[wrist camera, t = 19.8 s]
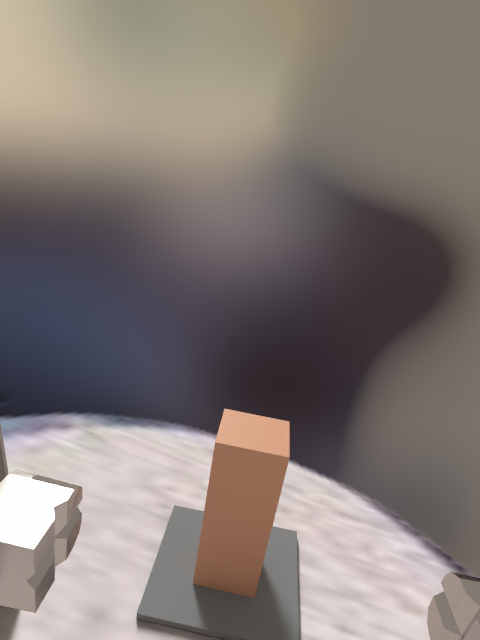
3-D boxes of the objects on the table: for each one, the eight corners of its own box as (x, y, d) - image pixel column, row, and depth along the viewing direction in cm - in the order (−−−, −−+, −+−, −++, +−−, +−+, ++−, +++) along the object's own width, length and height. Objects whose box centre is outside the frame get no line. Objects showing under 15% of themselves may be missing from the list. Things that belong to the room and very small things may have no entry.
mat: (136, 618, 28) (136, 613, 28) (173, 509, 38) (174, 505, 38) (297, 656, 28) (299, 651, 28) (295, 536, 37) (296, 531, 37)
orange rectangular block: (192, 583, 31) (215, 442, 26) (203, 540, 35) (224, 408, 30) (254, 597, 31) (289, 457, 26) (258, 552, 34) (289, 421, 29)
